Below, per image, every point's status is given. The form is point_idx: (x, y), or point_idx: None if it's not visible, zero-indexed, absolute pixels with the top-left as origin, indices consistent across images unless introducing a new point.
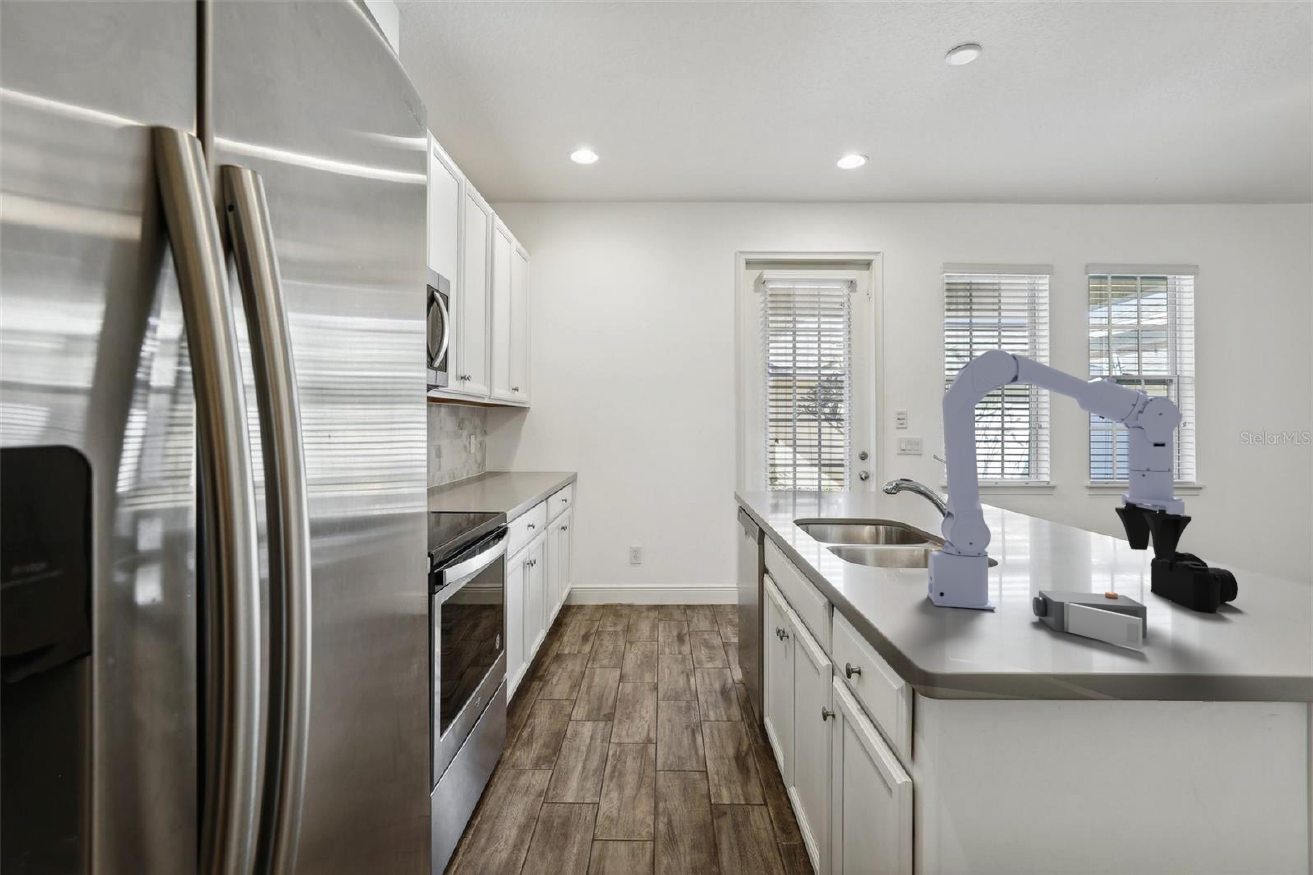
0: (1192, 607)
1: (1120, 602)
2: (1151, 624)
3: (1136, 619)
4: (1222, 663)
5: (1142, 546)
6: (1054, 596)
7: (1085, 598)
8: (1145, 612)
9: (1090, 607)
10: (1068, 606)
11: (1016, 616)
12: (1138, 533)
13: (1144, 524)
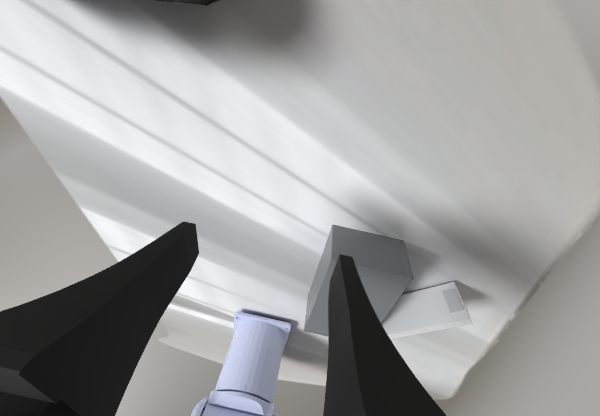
0: (207, 4)
1: (380, 291)
2: (336, 188)
3: (468, 323)
4: (530, 230)
5: (191, 241)
6: None
7: None
8: (410, 271)
9: (401, 332)
10: None
11: (302, 309)
12: (163, 285)
13: (133, 306)
